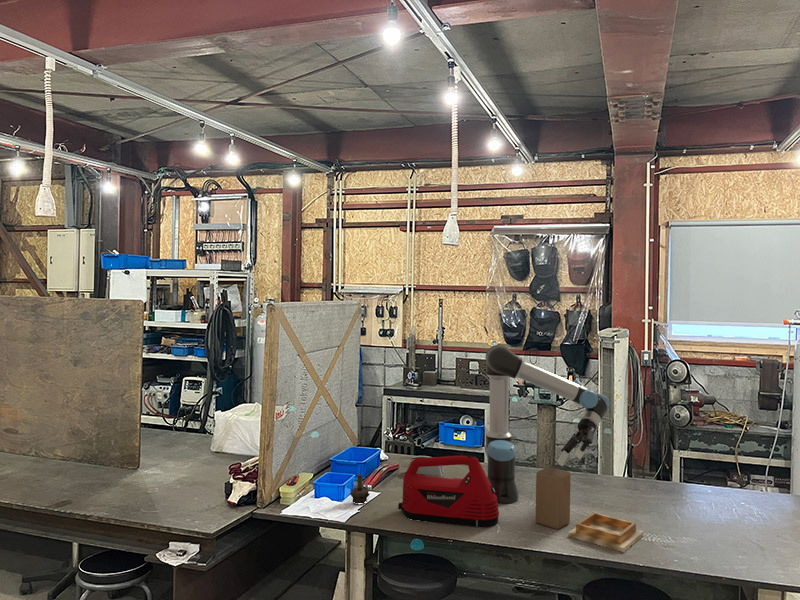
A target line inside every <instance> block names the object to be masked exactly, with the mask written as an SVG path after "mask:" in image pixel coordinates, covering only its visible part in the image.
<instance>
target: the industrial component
mask: <svg viewBox="0 0 800 600" xmlns="http://www.w3.org/2000/svg"><path fill="white" fill-rule="evenodd" d="M356 475H357V476H356V477H357V478H356V479H357V487H356V488H352V489H351V491H350V493H349V495H350V496H351V498H352V503H353V502H355V503H364V502H365V501H366V502H367V500H368V497H369V496H370V493H369V489H368V488H364V486H363V478H364V477H363V474H362V473H358V474H356ZM364 504H365V503H364Z"/></svg>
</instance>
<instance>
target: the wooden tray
mask: <svg viewBox="0 0 800 600" xmlns="http://www.w3.org/2000/svg"><path fill="white" fill-rule="evenodd" d="M567 534H568V536H569V538H572V539H575V538H576V539H575V540H579V541H582V542H586V541H587V542H586V543H589V542H590V543H589V544H593V545H596V544H597V546H599V545H601V546H600V547H603V546H604V548H606V547H608V548H607V549H611V550H613V551H617V552H620V551H621V552H620V553H625V552H626V551H627V550H628V549H630V548H631V547H632V546H633V545H634V544H635V543H637V542H638V540H640V539H641V538H642V537H643V536H644V531H643V530H640V529H637V523H636V522H633V521H629V520H624V519H622V518H619V517H618V518H617V517H613V516H609V515H606V514H602V513H598V512H592V513H590V514H589V515H587V516H586V517H585V518H582V520H579V522H577V523H575V527H574V528H573V529H571V530H569V531H568V533H567ZM568 536H567V537H568ZM631 545H632V546H631ZM630 546H631V547H630Z"/></svg>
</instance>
